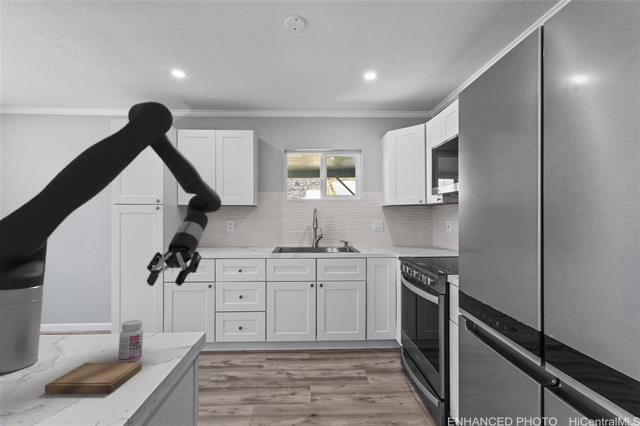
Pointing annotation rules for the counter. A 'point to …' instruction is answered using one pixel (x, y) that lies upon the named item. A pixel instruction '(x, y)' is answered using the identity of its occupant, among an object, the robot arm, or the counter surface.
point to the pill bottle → (130, 341)
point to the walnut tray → (94, 378)
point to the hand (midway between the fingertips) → (163, 284)
